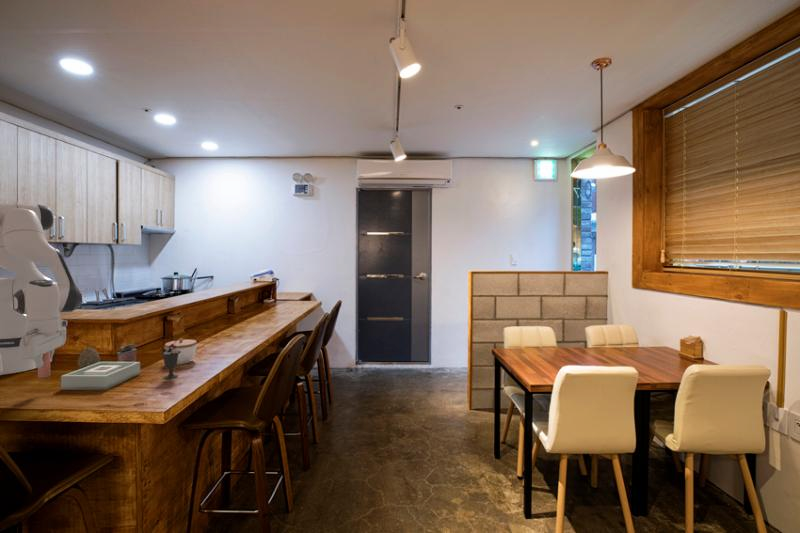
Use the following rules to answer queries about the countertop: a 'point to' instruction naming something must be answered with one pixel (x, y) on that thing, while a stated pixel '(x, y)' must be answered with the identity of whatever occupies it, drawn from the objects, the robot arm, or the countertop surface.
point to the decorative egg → (88, 358)
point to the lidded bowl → (184, 349)
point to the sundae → (170, 359)
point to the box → (100, 376)
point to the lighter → (127, 353)
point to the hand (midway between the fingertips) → (44, 364)
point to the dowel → (45, 366)
